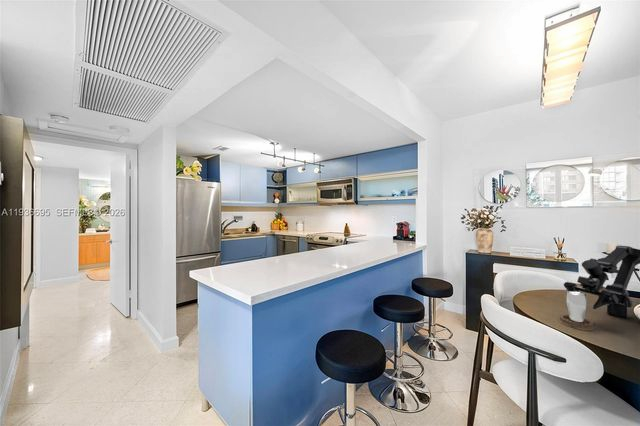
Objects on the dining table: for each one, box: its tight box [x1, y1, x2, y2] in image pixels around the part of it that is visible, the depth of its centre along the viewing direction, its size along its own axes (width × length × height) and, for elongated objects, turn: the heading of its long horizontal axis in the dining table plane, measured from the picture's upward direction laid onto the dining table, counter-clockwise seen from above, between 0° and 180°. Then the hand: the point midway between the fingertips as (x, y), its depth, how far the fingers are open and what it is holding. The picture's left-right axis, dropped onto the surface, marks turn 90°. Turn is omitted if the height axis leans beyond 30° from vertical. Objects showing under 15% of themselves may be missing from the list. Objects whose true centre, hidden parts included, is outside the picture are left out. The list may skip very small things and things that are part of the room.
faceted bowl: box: [558, 314, 595, 332], centre depth 122 cm, size 12×12×2 cm
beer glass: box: [566, 290, 588, 324], centre depth 122 cm, size 7×7×15 cm
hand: (581, 305), depth 123 cm, fingers open, 9 cm apart
